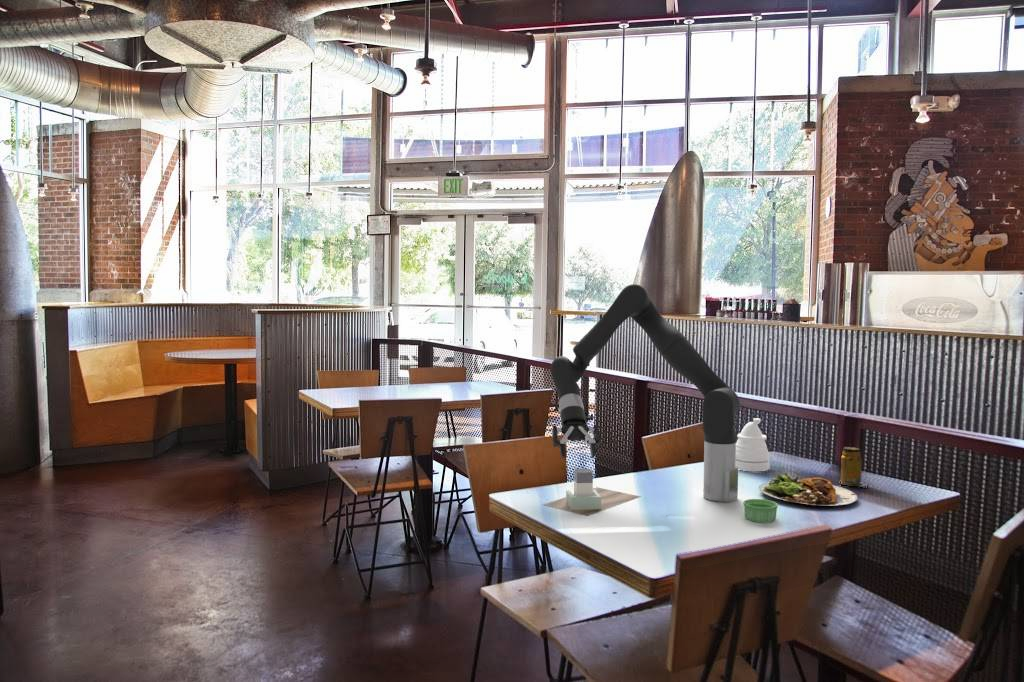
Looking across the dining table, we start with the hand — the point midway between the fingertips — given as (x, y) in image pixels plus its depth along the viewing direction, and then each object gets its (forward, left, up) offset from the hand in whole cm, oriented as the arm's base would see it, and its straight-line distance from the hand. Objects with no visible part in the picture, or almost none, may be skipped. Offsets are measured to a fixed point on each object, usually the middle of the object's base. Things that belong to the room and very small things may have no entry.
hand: (579, 456), depth 218 cm
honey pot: (-18, -79, -14) cm, 82 cm away
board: (-4, -2, -14) cm, 14 cm away
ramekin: (-46, -22, -14) cm, 53 cm away
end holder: (-5, +4, -13) cm, 14 cm away
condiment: (-53, -79, -14) cm, 96 cm away
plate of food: (-47, -53, -14) cm, 72 cm away
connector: (-5, +4, -13) cm, 14 cm away
